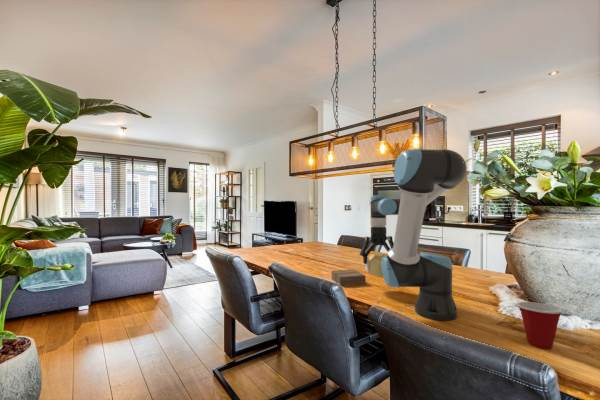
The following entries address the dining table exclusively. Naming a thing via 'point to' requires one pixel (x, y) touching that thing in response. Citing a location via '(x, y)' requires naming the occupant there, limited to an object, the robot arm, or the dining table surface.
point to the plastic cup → (540, 323)
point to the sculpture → (375, 264)
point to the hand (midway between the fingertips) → (379, 269)
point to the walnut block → (348, 277)
